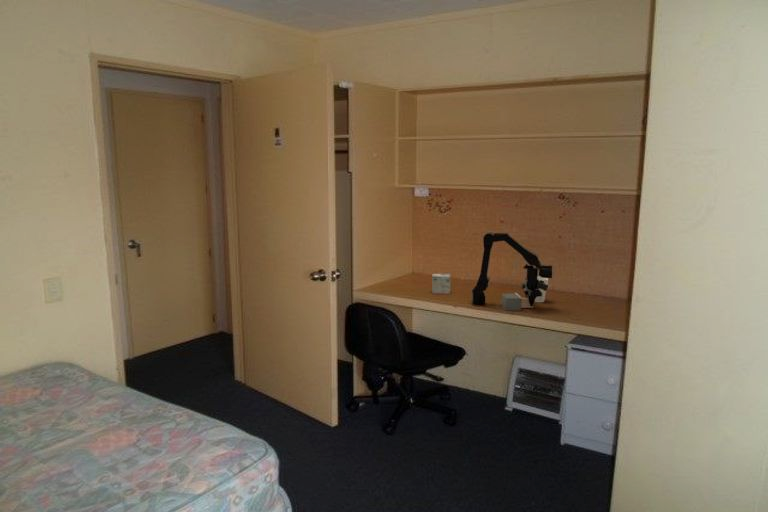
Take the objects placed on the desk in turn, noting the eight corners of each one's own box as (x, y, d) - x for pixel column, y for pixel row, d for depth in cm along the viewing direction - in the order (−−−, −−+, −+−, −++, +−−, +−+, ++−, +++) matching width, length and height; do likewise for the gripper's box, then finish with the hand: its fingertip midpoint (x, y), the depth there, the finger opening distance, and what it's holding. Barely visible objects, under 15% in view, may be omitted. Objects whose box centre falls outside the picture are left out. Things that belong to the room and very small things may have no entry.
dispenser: (505, 310, 289) (506, 297, 287) (501, 305, 299) (501, 292, 297) (520, 310, 289) (521, 297, 288) (515, 305, 299) (516, 292, 298)
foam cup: (528, 302, 305) (529, 279, 303) (530, 298, 314) (531, 276, 312) (546, 303, 302) (547, 280, 300) (547, 299, 311) (548, 277, 308)
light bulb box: (450, 291, 330) (450, 273, 328) (450, 294, 324) (450, 276, 322) (432, 290, 331) (432, 273, 329) (432, 293, 325) (432, 275, 323)
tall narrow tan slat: (514, 307, 293) (514, 298, 292) (513, 306, 295) (513, 297, 294) (532, 307, 293) (533, 298, 292) (531, 306, 295) (532, 297, 294)
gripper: (552, 280, 282) (551, 310, 285) (541, 273, 300) (540, 300, 303) (531, 280, 282) (529, 310, 285) (521, 273, 300) (520, 300, 303)
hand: (530, 305), depth 294 cm, fingers open, 3 cm apart
